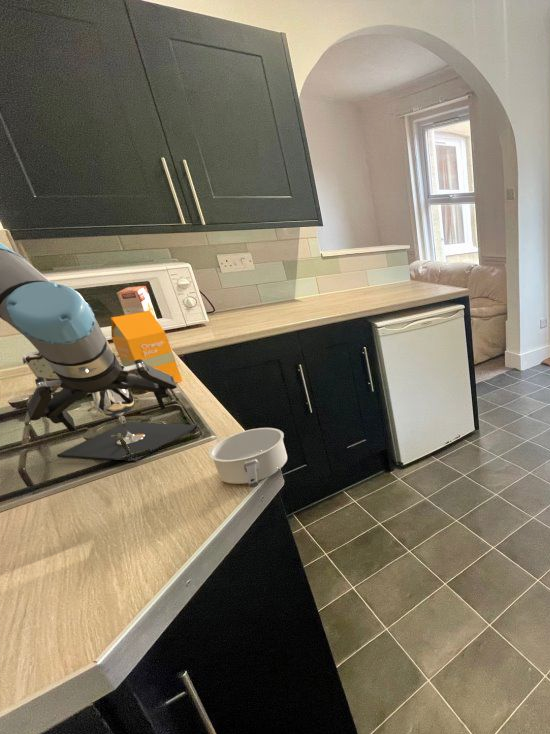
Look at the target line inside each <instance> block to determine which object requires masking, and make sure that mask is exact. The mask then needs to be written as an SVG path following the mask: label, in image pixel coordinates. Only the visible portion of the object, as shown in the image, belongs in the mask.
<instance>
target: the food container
mask: <svg viewBox="0 0 550 734" xmlns="http://www.w3.org/2000/svg"><path fill="white" fill-rule="evenodd" d="M22 364H23V365H25V364H27V366H28V367H29V369H30V370H31V372H32V373H33V374H34V377H35V379H37V378H45V379H46V380H47V381H53V380H59V377H58V376H57V375H56V373H55V372H54V370H53V369H52V368H51V367H50V366H49V364H48V363H47V362H46V361H45V359H44V358H43V357H42V355H41V354H40V353H39V351H38V350H35V351H32V352H29V353H26V354H24V355H22Z"/></svg>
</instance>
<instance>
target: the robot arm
mask: <svg viewBox="0 0 550 734" xmlns="http://www.w3.org/2000/svg"><path fill="white" fill-rule="evenodd" d="M0 319H1V320H3V321H4V322H6V324H9V326H10V327H12V328H13V329H14V330H16V331H17V332H18V333H20V334H21V335H22V336H23V337H25V338H26V339H27V340H28V341H29V342H30V343H31V345H32V346H33V347H34V348H35V349H36V351H39V353H40V354H41V355H42V357H43V358H44V359H45V361H46V362H47V363H48V364H49V366H50V367H51V368H52V369H53V370H54V372H55V373H56V375H57V376H58V377H59V380H53V381H47V380H46V379H45V378H35V379H34V382H35V385H36V387H35V390H34V392H33V394H32V396H31V397H30V400H29V402H28V404H27V406H26V409H27V413H28V416H29V417H28V418H29V420H30V421H34V422H35V421H39V420H41V418H46V419H48V420H49V421H50V422H52V423H53V424H55V425H56V424H61V423H62V425H64V426H65V428H66V429H68V430H69V431H70V433H71V432H76V431H77V428H76V425H75V421H74V418H73V416H71V414H70V413H69V412H68V411H67V410H66V409H68V408H69V407H70V406H71V405H73V404H74V403H75V402H76V401H77V400H78V401H81V400H82V399H83V398H84V397H86V396H87V395H88V394H92V393H95V392H99V391H102V390H110V389H114V388H117V389H124V390H127V389H133V390H137V391H142V390H143V391H142V392H146V391H148V392H151V393H153V394H154V397H155V399H156V401H157V404H158V405H159V408H160V410H165V409H166V404H165V402H164V399H166V398H168V397H169V394H168V391H167V390H174V389H176V388H178V386H177V384H176V383H177V382H176V383H175V381H174V378H173V376H171V375H169V374H167V373H164V372H162V371H160V370H157V369H155V368H153V367H151V366H148V365H146V364H145V362H144V361H143V360H141V359H138V360H135V361H134V362H135V365H131V366H126V367H125V366H123V365H122V364H121V363H120V362H119V360H118V358H117V356H116V354H115V353H114V351H113V349H112V347H111V345H110V343H109V341H108V339H107V337H105V334H104V332H103V330H102V328H101V327H100V324H99V322H98V321H97V319H96V316H95V313H94V312H93V307H91V305H90V304H89V303H88V302H86V300H85V299H84V297H83V296H82V295H81V294H80V293H79V292H78V291H77V290H76V289H74V288H72V287H70V286H69V285H64V284H60V283H58V282H54V281H53V282H52V281H51V280H50V279H49V278H47V277H46V276H45V275H44V274H43V273H41V272H40V270H38V269H37V268H35V266H33V264H31V262H29V261H28V259H26V258H25V257H24V256H22V255H21V254H20V253H17V252H16V251H15V250H13V249H12V248H10V247H8V246H7V245H5V244H4V243H2V242H0ZM129 373H133V374H129ZM134 374H136V375H134ZM60 388H61V390H60V391H58V389H60ZM57 391H58V392H57ZM56 392H57V393H56Z"/></svg>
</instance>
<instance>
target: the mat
mask: <svg viewBox="0 0 550 734" xmlns="http://www.w3.org/2000/svg"><path fill="white" fill-rule="evenodd" d="M126 424H127V427H128V430H129V432H130V433H131V434H138V433H141V434H144V435H145V436H144V437H143V438H142V439H140V440H138V441H136V442H133V443H129V444H127V445H128V447H129V449H130V452H131V453H136V452H139V451H143V450H147V449H150V450H151V451H152V449H153V450H154V449H156V448H158V447H159V446H161V445H164V444H166V443H168V442H170V441H172V442H174V441H176V440H178V439H179V438H181V437H183V436H184V435H187V434H188V433H190V432H192V431H193V430H195V429H196V428H195V427H196V426H197V427H198V425H196V424H179V423H163V422H161V423H160V422H143V421H141V422H140V421H126ZM194 428H195V429H194ZM118 433H121V434H122V435H123V437H125V436H126V435H127V433H126V430H125V428H124V426H123V424H122V423H121V424H119V425H117V426H115V427H113V428H110V429H108V430H106V431H104V432H102V433H100V434H98V435H96V436H93V437H90V438H89V439H87V440H85V441H82V442H81V443H79V444H76V445H74V446H73V447H70V448H67V449H66V450H64V451H62V452H61V451H60V453H57V454H56V456H57V457H58V458H71V459H72V458H73V459H83V460H84V459H85V460H99V461H112V460H115V459H121V458H122V457H123V456H125V455H126V454H127V452H126V451H125V449H124V448H123V447H122V445H119V444H117V441H118V440H119V439H118V438H117V436H116V437H111V435H113V434H114V435H117V434H118ZM175 439H176V440H175ZM173 440H174V441H173ZM141 457H142V456H140V457H136V458H131V459H128V460H130V461H137V460H138V459H139V458H141ZM137 462H138V461H137Z"/></svg>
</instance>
